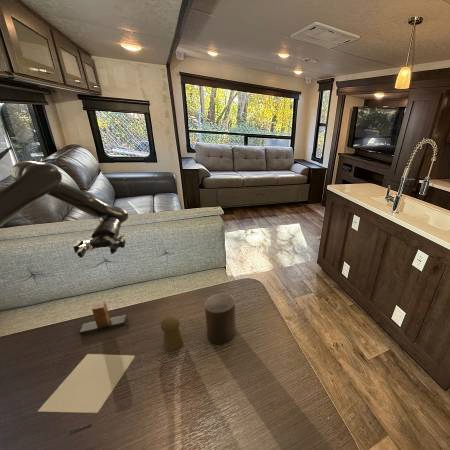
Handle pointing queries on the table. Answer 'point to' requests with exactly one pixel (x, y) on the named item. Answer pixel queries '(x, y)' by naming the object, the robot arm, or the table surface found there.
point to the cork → (171, 334)
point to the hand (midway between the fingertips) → (96, 253)
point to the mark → (80, 428)
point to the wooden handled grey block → (102, 320)
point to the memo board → (88, 384)
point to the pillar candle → (220, 318)
